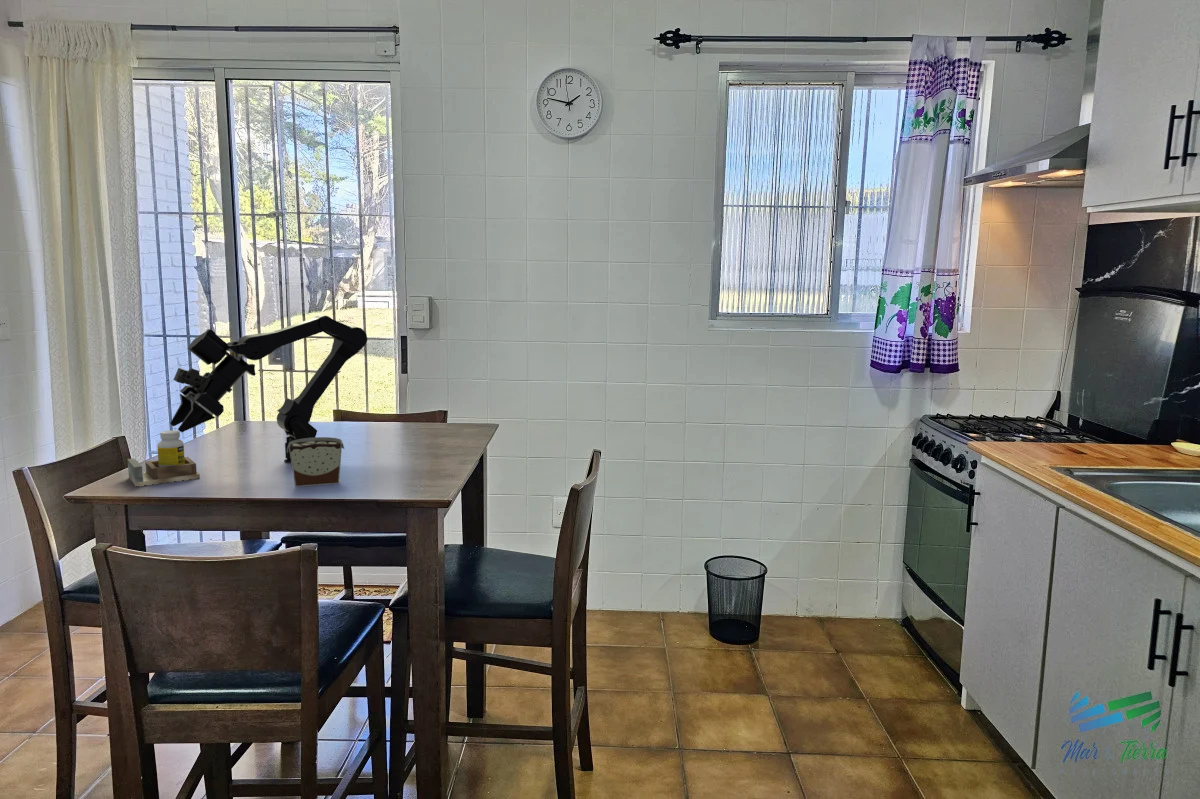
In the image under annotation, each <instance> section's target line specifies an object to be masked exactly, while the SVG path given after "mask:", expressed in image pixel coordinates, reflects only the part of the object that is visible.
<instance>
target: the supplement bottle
mask: <svg viewBox="0 0 1200 799" xmlns="http://www.w3.org/2000/svg"><path fill="white" fill-rule="evenodd" d="M180 433H181V432H180V431H179V430H176V429H175V430H173V429H172V430H171V429H170V430H163V431H160V432H159V435H160V439H161V440H160V441H159V442H158V443H157V460H158V464H159V467H165V466H174V465H182V464H185V458H184V457H185V444H184V441H183V440H181V439H180V438H181V437H180V436H181V434H180Z"/></svg>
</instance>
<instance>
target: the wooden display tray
mask: <svg viewBox="0 0 1200 799" xmlns="http://www.w3.org/2000/svg"><path fill="white" fill-rule="evenodd" d="M184 458H185V464H182V465H174V466H165V467H159V464H158V459H156V460H148V461H144V462H145V471H143V466H142V465H141V463H140V462H139V461H138V460H137V459H136V458H127V470H128V472H127V473H128V479H129V480H130V481H131V483H132V482H133V483H134V484H133V483H132V484H133V485H134V486H135V487H136V486H139V487H144V485H147V486H153V485H152V484H154V485H159V483H162V484H168V483H167V482H169V483H175V482H174V481H177V482H183V481H182V480H184V481H189V479H192V480H198V479H197V478H199V479H200V478H201V477H200V473H199V472H197V463H196V462H195V461H194V460H193V459H191V457H189V456H184Z"/></svg>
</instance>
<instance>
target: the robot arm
mask: <svg viewBox="0 0 1200 799" xmlns="http://www.w3.org/2000/svg"><path fill="white" fill-rule="evenodd" d="M319 333H324V334H326V335H328V336H329V337H332V338H333V339H334V340H333V342H332V345H331V350H330V353H329V354H328V355H327V357H326V358H325V359H324V361H322V363H321V365H319V368H318V369H317V370H316V372H315V373H314V374H313V376H312V377H311V378H310V380H309V381H308V383H307V384H306V385H305V387H304V388H303V389H302V391H301V392H300V393H299V395H298V396H296V397H295V398H294V399H291V398H289V397H288V398H286V399H285V401H284V402H283V404H282V406H281V407H280V408H279V409H277V411H276V412H278V414H277V416H276V423H277V426H278V427H279V428H280V429H282V430H283V431H284V432H285V435H287V437H286V439H285V440H286V442H284V449H285V450H284V451H285V452H284V454H285V455H284V456H285V459H284V460H283V462H284V463H291V457H290V451H288V452H287V447H288V445H289V443H290V442H291V441H294V440H298V439H304V438H315V437H317V433H318V430H317V429H316V428H315V426H313V425H311V424H310V420H311V418H312V416H313V412H314V408H315V405H316V404H317V402H318V401H319V399H320V398H321V397H322V395H323V394H324V393H325V391H326V390H327V388H328V387H329V386H330V384H331V383H332V381H333V380H334V379H335V377H336V376H337V374H338V373H339V371H340V370H341V369H342V367H343V366H344V365H345V364H346V362H347V361H349V359H351V358H352V357H354V356H356V354H358V353H360V351H361V350H362V349H363V348H364V347H365V346H366V344H367V343H368V336H367V332H366V331H365V330H364V329H363V328H361V327H357V326H350V325H347V324H344V323H343V322H340V321H338V320H335V319H333V318H332V317H330V316H329V315H322V314H321V315H315V317H313V318H310V319H306V320H303V321H302V322H299V323H295V324H291V325H289V326H286V327H283V328H280V329H277V330H274V331H269V332H261V333H260V332H259V333H255V334H254V333H253V334H247V335H243V336H242V337H240V338H239V339H238V340H237V341H228V342H226V341H225V340H223V339H222V338H221V337H219V336H218V335H217V333H216V332H215V331H214V330H212V329H210V328H208V329H206V331H204V332H203V333H202V334H200V335H198V336H197V337H195V338H194V339H193V340H192V341H191V342H190V343H189V345H188V346H187V350H188V351H189V352H191V353H192V354H193V355H195V356H196V357H197V358H198V359H200V361H202V362H203V363H205V365H207V366H209V365H211V364H212V365H214V366H215V365H216V366H215V367H214V368H213V369H212V370H211V372H209V371H208V372H205V373H203V375H201V374H200V370H197V369H195V368H190V369H184V368H182V367H178V368H177V370H176V373H175V375H174V377H173V381H175V382H177V383H179V384H182V385H184V384H185V385H184V386H183V388H181V390H179V392H180V393H179V397H180V404H179V406H178V408H177V410H176V412H175V413H174V415H173V417H172V419H171V420H170V423H169V424H170V426H172V427H175V426H176V427H177V425H179V426H178V429H177V431H180V433H184V432H186V431H189V430H190V429H193V428H195V427H197V426H199V425H201V424H204V423H206V422H208V421H210V420H214V419H216V417H217V418H218V417H220V416H221V415H222V414H223V412H224V411H225V410H224V404H222V403H221V402H220V400H221V399H222V398H223V397H224V396H225V395H226V394H227V393H229V394H230V393H231V392H232V391H233V386H234V385H235V384H237V383H238V381H239V380H240V379H241V378H242V377H243V376H244V375H245V374H246V373H247V374H248V375H250V376H253V377H254V376H256V371H255V370H256V369H255V368H256V365H255V364H254V363H248V362H247V361H245V360H244V359H243V358H245V359H248V360H250V361H259V360H261V359H263V358H265V357H267V356H268V355H270V354H273V352H275V351H276V350H278V349H279V348H281V347H284V346H286V345H289V344H291V343H294V342H297V341H300V340H303V339H306V338H309V337H312V336H315V335H317V334H319ZM231 353H233V354H237V355H239V356H238V357H234V356H233V355H232V354H231Z"/></svg>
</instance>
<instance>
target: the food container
mask: <svg viewBox="0 0 1200 799" xmlns="http://www.w3.org/2000/svg"><path fill="white" fill-rule="evenodd" d="M342 449H343V450H345V446H344V443H343V440H342V439H340V438H337V437H327V436H326V437H325V436H324V437H323V436H322V437H321V436H318V437H317V436H316V437H315V438H304V439H298V440H294V441H291V442H290V443H289V445H288V447H287V452H288V451H290V457H291V462H290V463H291V469H292V473H293V474H292V475H293V476H292V477H293V482H294V487H295V488H298V487H299V488H300V486H302V487H312V486H313V485H314V486H323V485H324V486H326V485H325V484H327V485H339V484H340V477H341V476H340V475H341V473H340V472H341V462H342V459H341V458H342ZM335 483H337V484H335ZM338 483H339V484H338Z"/></svg>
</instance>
